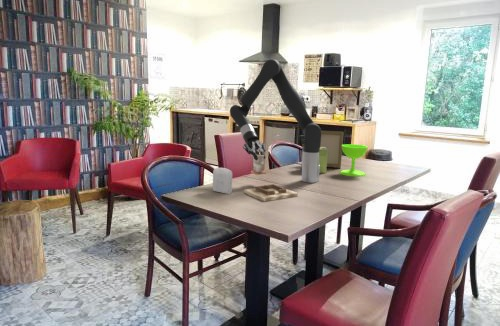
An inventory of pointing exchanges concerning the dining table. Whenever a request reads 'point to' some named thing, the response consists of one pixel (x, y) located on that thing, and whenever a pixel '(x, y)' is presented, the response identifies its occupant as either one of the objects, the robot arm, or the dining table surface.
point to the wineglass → (353, 158)
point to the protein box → (321, 159)
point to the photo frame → (333, 147)
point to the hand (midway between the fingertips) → (260, 158)
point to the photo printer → (222, 180)
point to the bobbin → (258, 165)
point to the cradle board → (270, 192)
